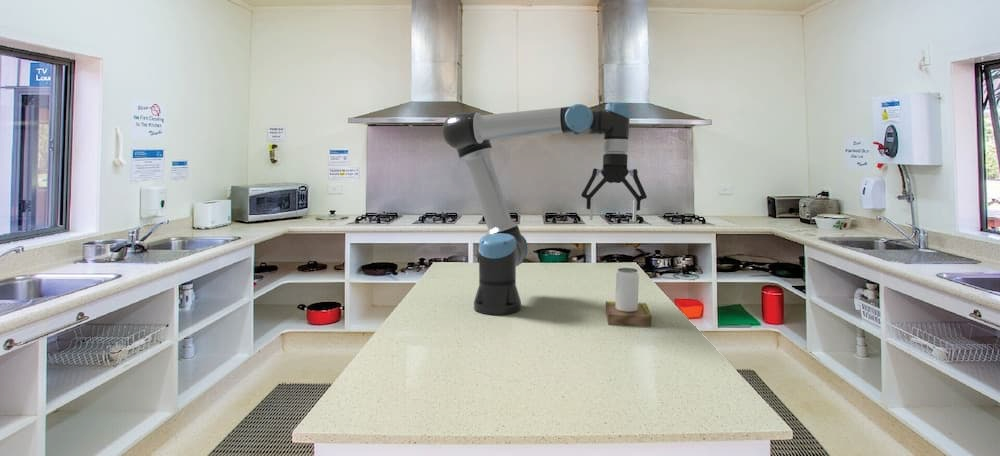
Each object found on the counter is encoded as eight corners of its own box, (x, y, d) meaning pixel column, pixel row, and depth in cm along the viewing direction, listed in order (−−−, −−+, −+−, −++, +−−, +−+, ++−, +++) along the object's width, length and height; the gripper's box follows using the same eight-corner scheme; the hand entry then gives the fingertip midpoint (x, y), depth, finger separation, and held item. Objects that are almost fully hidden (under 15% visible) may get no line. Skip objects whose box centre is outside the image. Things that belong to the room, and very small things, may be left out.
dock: (608, 324, 143) (608, 312, 143) (605, 312, 155) (605, 301, 154) (651, 326, 141) (651, 314, 141) (645, 314, 153) (645, 302, 153)
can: (616, 312, 145) (617, 271, 144) (614, 306, 151) (615, 267, 150) (638, 313, 144) (640, 272, 143) (636, 306, 150) (637, 268, 149)
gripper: (654, 154, 159) (650, 220, 162) (575, 153, 162) (572, 217, 165) (658, 153, 152) (654, 222, 154) (575, 152, 155) (573, 220, 157)
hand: (612, 220), depth 160 cm, fingers open, 13 cm apart
